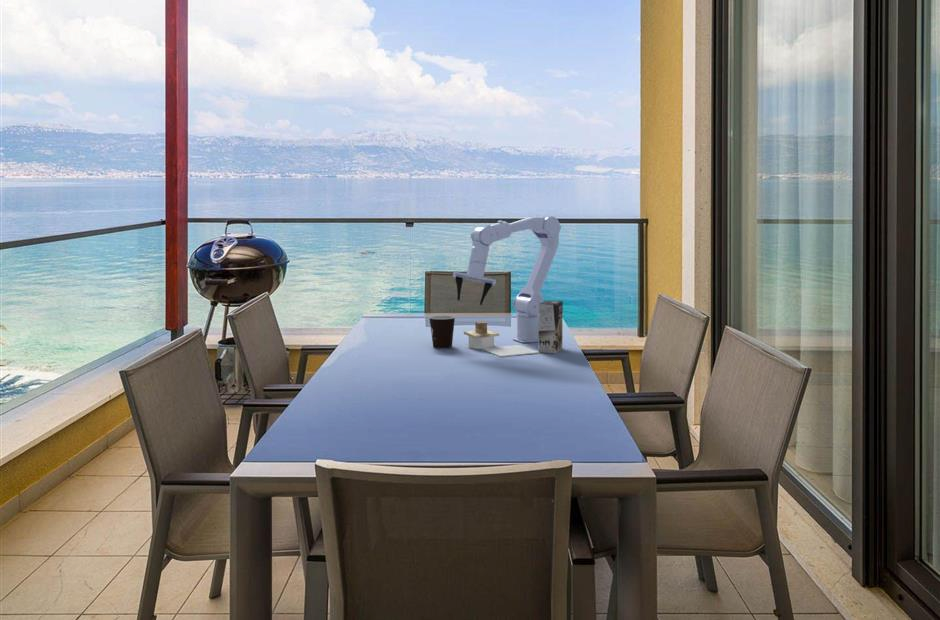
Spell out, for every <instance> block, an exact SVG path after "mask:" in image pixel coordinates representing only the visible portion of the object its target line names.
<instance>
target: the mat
mask: <svg viewBox="0 0 940 620" xmlns="http://www.w3.org/2000/svg"><path fill="white" fill-rule="evenodd" d="M481 350H482V351H484V352H488V354H492V355H493V356H497V357H499V358H506V357H516V356H517V357H518V356H524V355H525V356H527V355H537V354H540V352H538V350H534V349H532V348H529V347H526V346H524V345H521V344H516V345H515V344H514V345H504V346H494V347H492V348H482V349H481Z"/></svg>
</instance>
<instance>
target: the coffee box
mask: <svg viewBox="0 0 940 620" xmlns="http://www.w3.org/2000/svg"><path fill="white" fill-rule="evenodd" d="M563 306H564V302H563V300H544V301H542V303H540V304H539V314H538V315H539V339H538V341H537V342H538V343H537V344H538V346H537V347H538V349H537V352H539V353H543V354H558V352H560V351H561V350H563V318H564V317H563V316H564V315H563V314H564V313H563V311H564V309H563V308H564V307H563Z"/></svg>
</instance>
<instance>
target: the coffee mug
mask: <svg viewBox="0 0 940 620" xmlns="http://www.w3.org/2000/svg"><path fill="white" fill-rule="evenodd" d="M428 317H429V324H430V325H429V326H430V334H431V340H432V341H431V342H432V347H433V348H434V349H449V348H452V347H453V341H454V340H453V339H454V329H455V321H456V320H455V319H456V317H455V316H453V315H441V314H440V315H432V316H428Z"/></svg>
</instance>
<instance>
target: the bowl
mask: <svg viewBox="0 0 940 620" xmlns="http://www.w3.org/2000/svg"><path fill="white" fill-rule="evenodd" d="M468 347H469V348H471V349H477V350H482V348H492V347H495V336H493V337H481V338H473V337H471V336H468Z"/></svg>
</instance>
